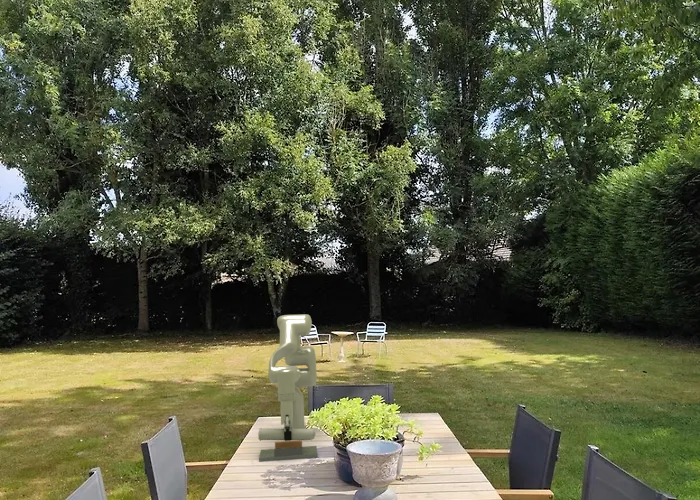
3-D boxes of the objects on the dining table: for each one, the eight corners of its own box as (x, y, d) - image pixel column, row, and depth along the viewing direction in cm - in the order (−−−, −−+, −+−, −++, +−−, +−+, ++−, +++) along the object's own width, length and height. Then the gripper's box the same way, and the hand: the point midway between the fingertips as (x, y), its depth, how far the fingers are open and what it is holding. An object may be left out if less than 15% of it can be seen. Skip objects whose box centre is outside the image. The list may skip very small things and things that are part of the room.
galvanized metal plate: (260, 453, 253) (260, 443, 254) (316, 449, 256) (316, 439, 256) (259, 461, 241) (258, 450, 242) (317, 457, 244) (317, 446, 244)
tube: (316, 428, 251) (262, 428, 254) (314, 427, 246) (258, 427, 249) (316, 441, 249) (261, 441, 252) (313, 440, 244) (257, 440, 247)
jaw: (275, 448, 254) (275, 442, 254) (302, 446, 255) (301, 440, 255) (275, 449, 253) (275, 442, 253) (302, 447, 254) (301, 441, 254)
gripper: (278, 393, 258) (280, 434, 257) (277, 401, 241) (278, 444, 240) (295, 392, 259) (296, 433, 258) (295, 400, 242) (296, 443, 241)
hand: (288, 438), depth 249 cm, fingers closed on tube, 5 cm apart
